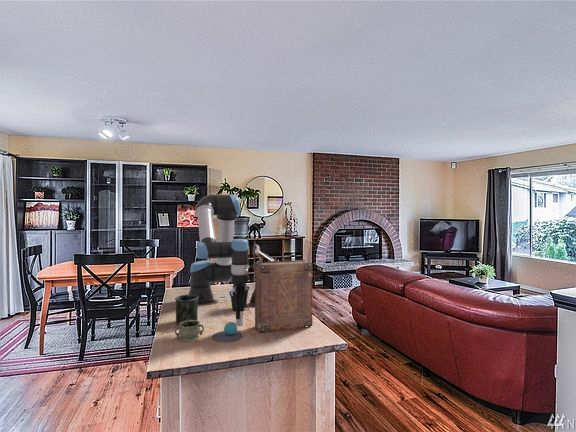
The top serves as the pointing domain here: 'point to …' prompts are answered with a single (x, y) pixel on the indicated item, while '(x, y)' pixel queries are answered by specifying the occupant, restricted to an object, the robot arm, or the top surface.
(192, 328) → the vessel
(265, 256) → the bird statue
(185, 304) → the mug
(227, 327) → the ball
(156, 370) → the top surface
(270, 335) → the top surface
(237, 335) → the disc
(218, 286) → the top surface
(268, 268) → the book
